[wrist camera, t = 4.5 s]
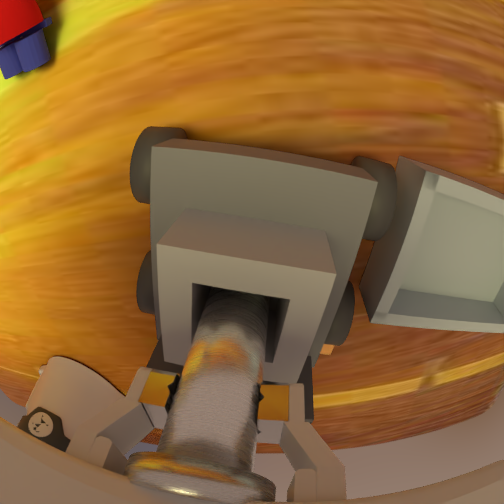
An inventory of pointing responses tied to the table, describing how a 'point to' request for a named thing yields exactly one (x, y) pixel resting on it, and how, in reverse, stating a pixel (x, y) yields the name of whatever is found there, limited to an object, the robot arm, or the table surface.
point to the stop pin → (214, 409)
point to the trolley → (255, 242)
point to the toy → (22, 37)
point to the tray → (439, 255)
